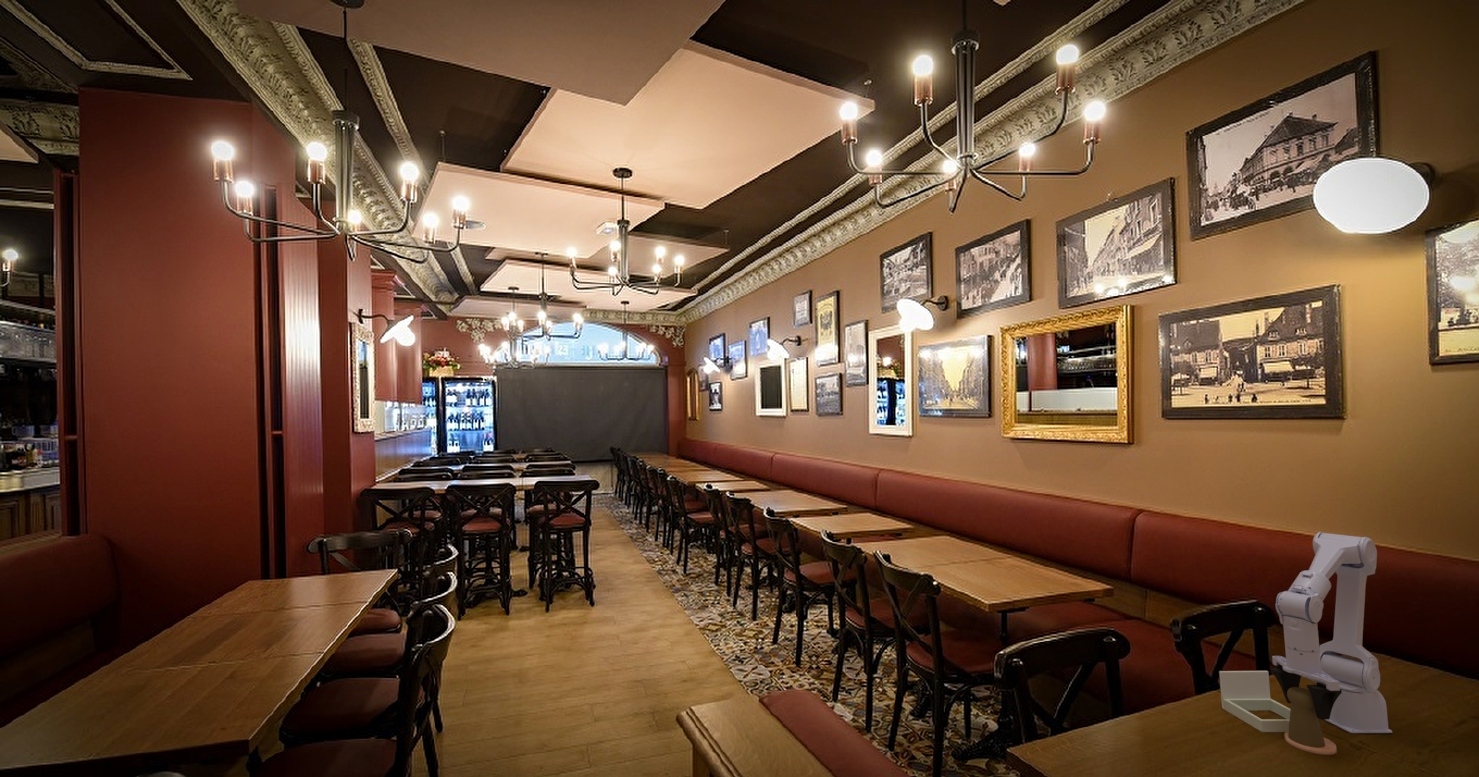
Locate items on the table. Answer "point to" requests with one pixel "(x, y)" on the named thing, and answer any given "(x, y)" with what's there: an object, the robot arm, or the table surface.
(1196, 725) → the table surface
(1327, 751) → the peach flat disc
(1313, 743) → the brown tapered cylinder
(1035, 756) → the table surface
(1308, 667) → the robot arm
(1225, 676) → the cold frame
